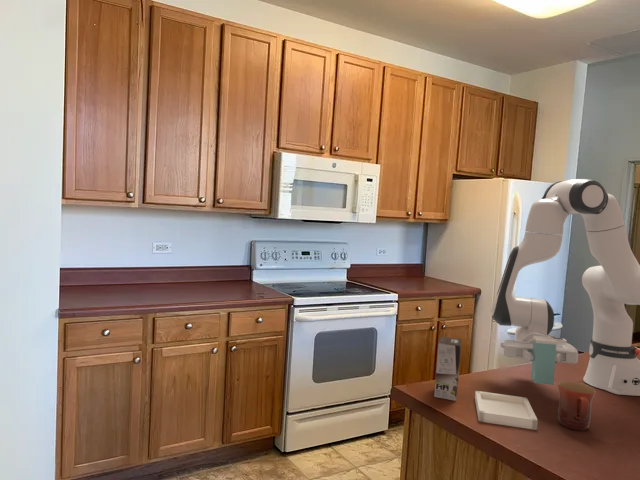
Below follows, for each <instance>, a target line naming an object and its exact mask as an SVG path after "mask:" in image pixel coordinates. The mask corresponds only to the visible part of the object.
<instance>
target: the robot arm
mask: <svg viewBox="0 0 640 480" xmlns="http://www.w3.org/2000/svg"><path fill="white" fill-rule="evenodd" d="M576 214H577V215H579V214H580V215H581V217H582V219H583V221H584V227H585V233H586V238H587V242H588V247H589V252H590V254H591V255H592V257H594V259H596V260H597V261H598V263H599V264H600V265H595V266H590V267H588V268H587V269H586V270H585V271H584V272H583V274H582V277H581V283H582V286H583V289H585V291H586V292H587V294H588V296H589V301H590V303H591V308H592V312H593V313H592V314H593V315H592V316H593V326H592V327H593V328H592V337H591V338H592V339H590V343H589V349H588V350H589V352H588V355H589V361H588V364H587V368H586V372H585V375H584V376H583V378H582V380H583V382H584V383H586V385H588V386H590V387H593V388H596V389H600V390H603V391H607V392H609V393H612V394H615V395H622V396H637V397H638V396H639V397H640V359H639V358H638V357H637V356H639V357H640V348H637V347H635V346H634V345H632V342H633V331H634V322H633V319H632V318H631V316H629V314H628V312H627V309H626V307H625V305H630V306H631V305H632V306H633V305H634V306H636V305H637V306H638V305H639V306H640V264H639V261H638V260H637V258H636V257H635V255H634V253H633V251H632V249H631V245H630V242H629V239H628V238H629V237H628V233H627V230H626V224H625V219H624V217H623V216H624V215H623V212H622V210H621V207H620V205H619V203H618V200H617V198H616V197H615V196H614V195H613V194H610V193H608V192H606V189H605V188H604V185H602V184H601V182H599V181H596V180H594V179H590V178H574V179H573V178H572V179H567V180H561V181H557V182H554V183H552V184H550V185H549V186H548V187H547V188H546V189H545V191H544V193H543V195H542V197H541V198H540V199H538V200H535V201H534V202H533V203H532V204H531V207H530V209H529V212H528V216H527V219H526V224H525V230H524V237H523V238H522V240H521V242H520V243H519V244H518V245H517V246H515V247H513V248H512V250H511V252H510V253H509V255H508V256H509V257H508V259H507V261H506V265H505V268H504V271H503V274H502V276H501V281H500V284H499V287H498V290H497V293H496V295H495V298H494V300H493V302H492V304H491V308H490V309H491V310H490V312H491V317H492V319H493V320H494V321H495V322H496V324H498V325H499V326H502V327H503V326H506V327H507V326H509V327H511V326H513V327H516V329H515V332H514V339H515V340H512V339H506V340H504V341H503V342H500V343H499V344H500V347H501V348H503V349H502V351H503V352H502V353H503V354H502V355H503V356H505V357H507V358H517V359H525V360H528V361H531V362H532V361H534V360H535V359H534V358H535V355H534V353H533V340H534V339H533V336H544V337H553V338H554V339H555V340H556V341H557V345H556V357H555V364H560V363H566V364H577V363H578V361H579V351H578V350H577V348H576V347H574V346H573V345H572V344H570V343H568V342H567V339H566V338H562V337H558V336H552V335H550V333H551V332H552V331H553V329H554V323H555V312H554V309H553V308H552V305H551V304H550V303H549V301H547V300H546V299H541V298H534V297H523V296H522V297H521V296H515V295H513V294H512V292H513V290H514V287H515V283H516V281H517V277H518V274H519V272H520V271H521V270H522V269H523V268H525V267H527V266H531V265H534V264H539V263H543V262H546V261H549V260H550V259H551V260H552V259H553V258H554V257H555V256H557V255H558V253H559V252H560V250H561V247H562V242H563V236H564V225H565V223H566V220H567V218H568V217H569V215H576Z"/></svg>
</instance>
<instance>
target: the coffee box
mask: <svg viewBox="0 0 640 480" xmlns="http://www.w3.org/2000/svg"><path fill="white" fill-rule="evenodd" d="M437 346H438V347H437V353H436V354H437V356H436V357H437V358H436V366H435V368H436V370H435V381H434V385H435V386H434V393H433V395H434V398H437V399H444V400H450V401H453V402H455V401H457V397H458V392H459V391H458V389H459V380H460V368H461V366H460V365H461V352H462V338H456V337H447V336H440V337H439V340H438V343H437Z"/></svg>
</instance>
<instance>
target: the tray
mask: <svg viewBox="0 0 640 480" xmlns="http://www.w3.org/2000/svg"><path fill="white" fill-rule="evenodd" d="M474 392H475V394H474V403H475V410H476V414H477V420H478V422H480V423H487V424H494V425H501V426H508V427H514V428H521V429H525V430H526V429H528V430H532V431H533V430H535V431H537V430H538V422H539V420H538V418H537V415H536V414H535V412H534V410H533V408H532V406H531V403H530V401H529V399H528V397H525V396H524V397H523V396H517V395H509V394H502V393H494V392H488V391H481V390H475V391H474Z"/></svg>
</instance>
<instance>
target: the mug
mask: <svg viewBox="0 0 640 480" xmlns="http://www.w3.org/2000/svg"><path fill="white" fill-rule="evenodd" d="M557 386H558V391H559V401H558V402H559V403H558V411H557V414H558V417H557V418H558V422H559V423H560V425H561V426H563V427H565V428H567V429H570V430H572V431H585V430H587V429H589V427H590V423H591V416H592V402H593V399H594V397H595V395H596V393H597V391H596V389H595V387H593V386H591V385H589V384H585V383H580V382H577V381H569V380H564V381H563V380H562V381H559V382H558V383H557Z"/></svg>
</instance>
